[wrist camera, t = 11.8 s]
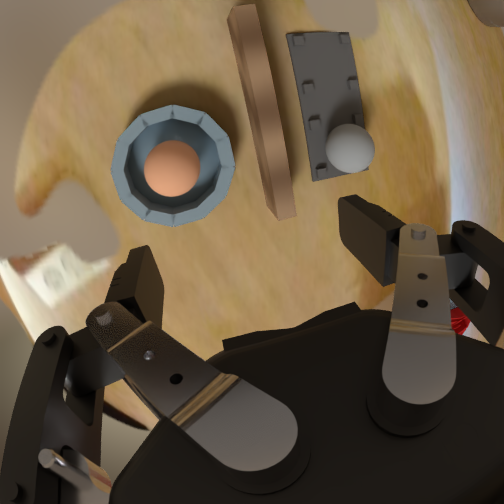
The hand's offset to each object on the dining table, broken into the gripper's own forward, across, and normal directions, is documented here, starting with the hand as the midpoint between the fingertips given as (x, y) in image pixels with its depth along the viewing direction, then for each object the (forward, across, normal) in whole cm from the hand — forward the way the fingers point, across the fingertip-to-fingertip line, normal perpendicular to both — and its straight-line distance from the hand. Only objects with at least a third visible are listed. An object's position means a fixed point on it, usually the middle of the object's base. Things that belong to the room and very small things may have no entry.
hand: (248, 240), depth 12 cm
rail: (+19, -5, -4) cm, 20 cm away
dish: (+19, +4, -1) cm, 19 cm away
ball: (+16, +4, -1) cm, 16 cm away
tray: (+19, -13, -3) cm, 23 cm away
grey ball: (+16, -13, +1) cm, 21 cm away
